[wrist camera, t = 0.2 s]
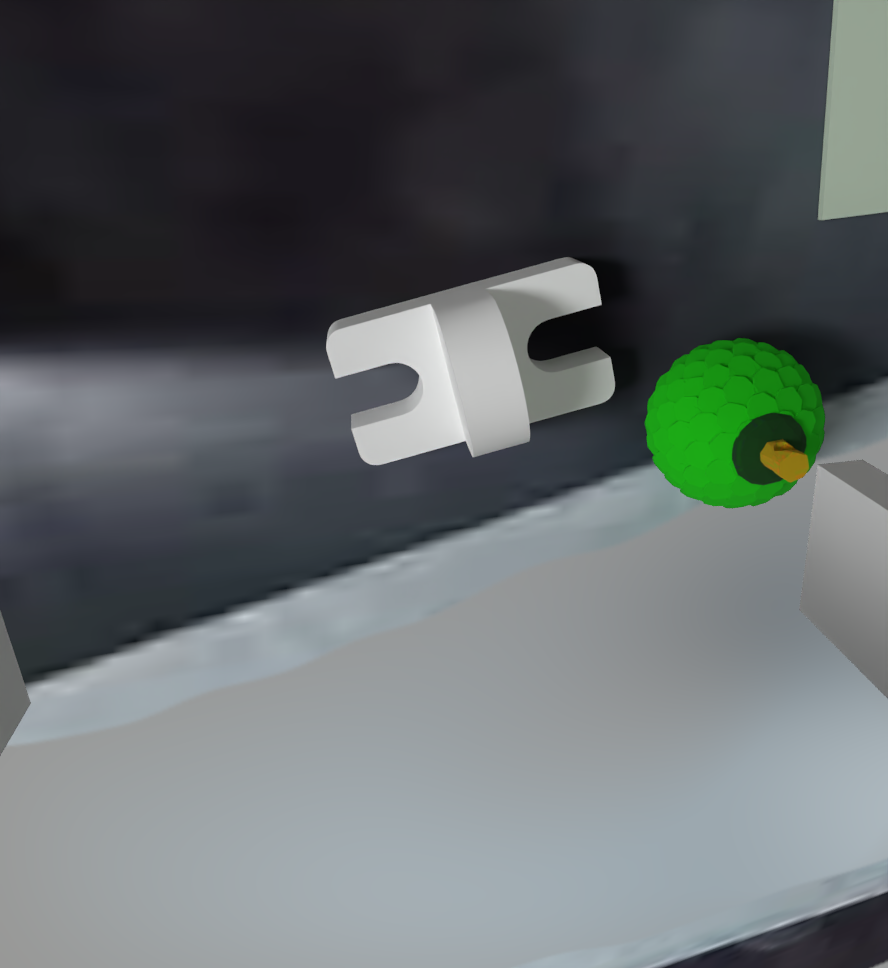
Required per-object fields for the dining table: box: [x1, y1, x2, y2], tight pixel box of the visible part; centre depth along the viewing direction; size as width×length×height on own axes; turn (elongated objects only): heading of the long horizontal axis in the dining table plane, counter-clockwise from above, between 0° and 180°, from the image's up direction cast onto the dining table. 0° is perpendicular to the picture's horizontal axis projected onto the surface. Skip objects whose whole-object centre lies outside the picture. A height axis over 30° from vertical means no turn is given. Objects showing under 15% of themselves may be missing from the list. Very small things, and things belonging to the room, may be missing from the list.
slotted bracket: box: [326, 257, 615, 465], centre depth 36 cm, size 13×7×8 cm, turn 104°
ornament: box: [645, 338, 825, 508], centre depth 38 cm, size 8×8×10 cm
